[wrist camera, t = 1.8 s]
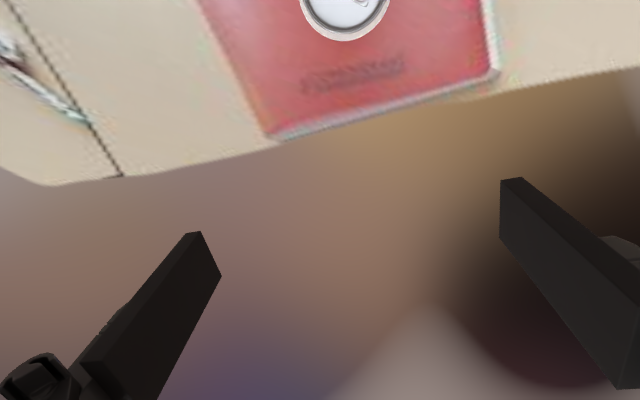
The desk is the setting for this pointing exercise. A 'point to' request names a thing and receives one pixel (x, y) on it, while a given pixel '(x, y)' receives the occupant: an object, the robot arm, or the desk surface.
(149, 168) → the desk surface
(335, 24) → the can
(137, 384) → the robot arm
